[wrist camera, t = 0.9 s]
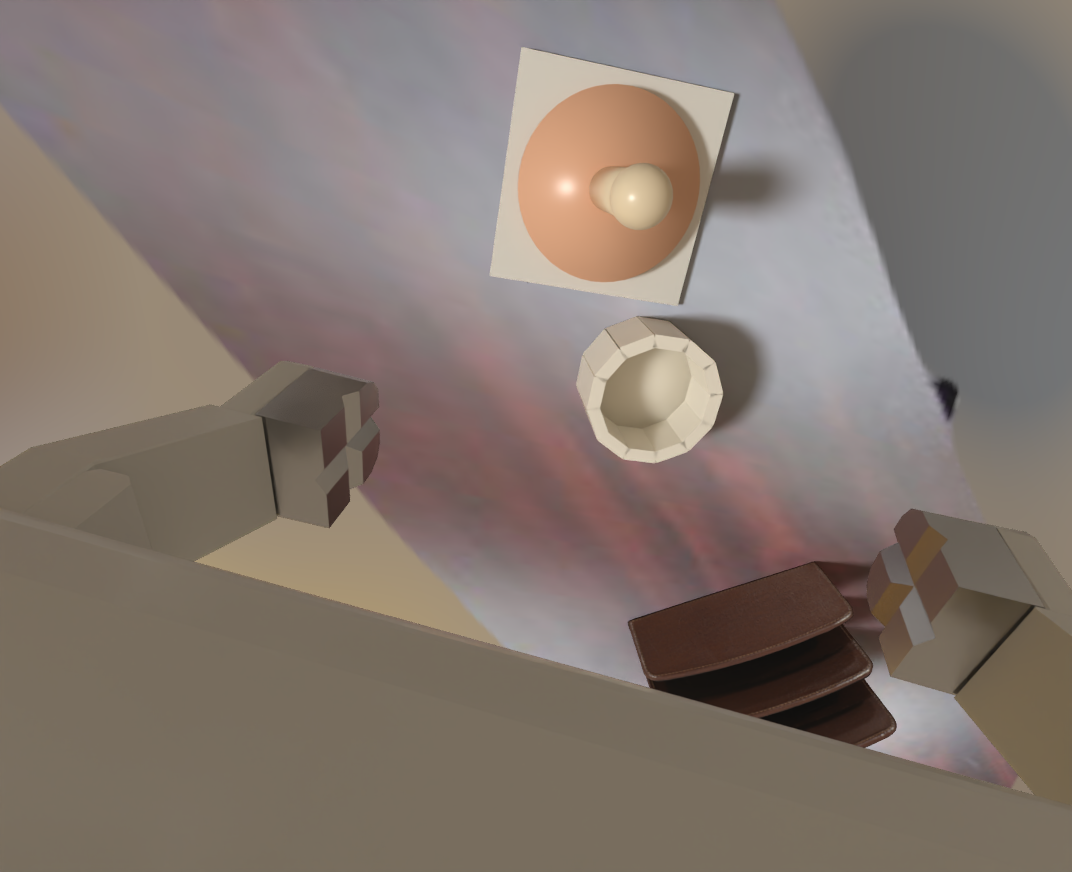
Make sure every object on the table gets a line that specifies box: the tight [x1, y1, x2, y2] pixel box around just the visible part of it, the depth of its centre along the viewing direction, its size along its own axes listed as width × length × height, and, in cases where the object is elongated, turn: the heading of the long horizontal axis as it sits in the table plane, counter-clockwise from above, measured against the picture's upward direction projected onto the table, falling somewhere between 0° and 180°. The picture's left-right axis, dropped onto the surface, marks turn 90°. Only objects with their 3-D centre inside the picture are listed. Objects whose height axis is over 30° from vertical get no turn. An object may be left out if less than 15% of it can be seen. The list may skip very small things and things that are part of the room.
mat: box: [490, 47, 734, 306], centre depth 45 cm, size 15×15×1 cm
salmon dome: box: [518, 84, 700, 282], centre depth 39 cm, size 13×13×12 cm
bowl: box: [576, 316, 723, 463], centre depth 49 cm, size 10×10×6 cm
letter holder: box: [628, 562, 897, 748], centre depth 58 cm, size 10×20×14 cm, turn 109°
